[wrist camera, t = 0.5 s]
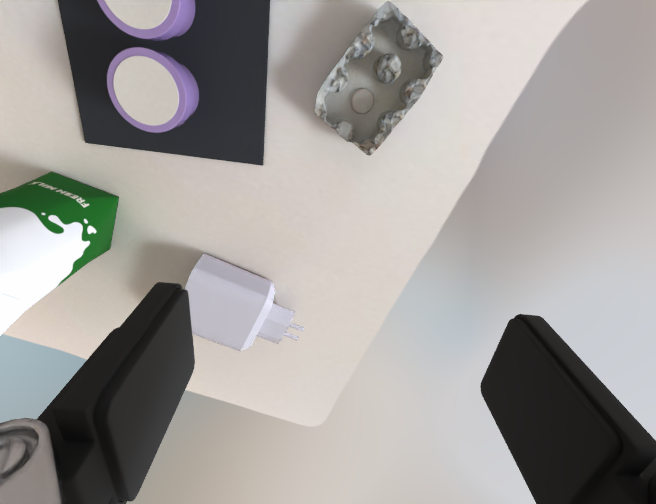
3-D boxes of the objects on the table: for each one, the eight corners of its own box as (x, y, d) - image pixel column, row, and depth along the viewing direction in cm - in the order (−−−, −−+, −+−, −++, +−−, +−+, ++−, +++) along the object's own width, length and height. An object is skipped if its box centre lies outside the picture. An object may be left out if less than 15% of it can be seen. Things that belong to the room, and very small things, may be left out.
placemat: (10, -256, 23) (7, -259, 22) (278, -202, 24) (277, -205, 23) (87, 142, 34) (85, 142, 34) (263, 164, 35) (262, 165, 35)
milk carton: (129, 192, 37) (-55, 298, 19) (116, 258, 40) (-47, 398, 23) (43, 159, 35) (-248, 241, 17) (38, 231, 39) (-204, 360, 21)
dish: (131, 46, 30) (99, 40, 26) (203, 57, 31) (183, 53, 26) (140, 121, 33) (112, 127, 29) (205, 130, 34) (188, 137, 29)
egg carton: (363, 153, 35) (368, 162, 32) (307, 104, 33) (305, 107, 29) (440, 64, 31) (455, 62, 28) (382, 1, 29) (390, -10, 25)
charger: (287, 345, 47) (183, 306, 44) (316, 296, 43) (205, 250, 40) (284, 371, 43) (168, 330, 40) (316, 320, 39) (191, 270, 36)
